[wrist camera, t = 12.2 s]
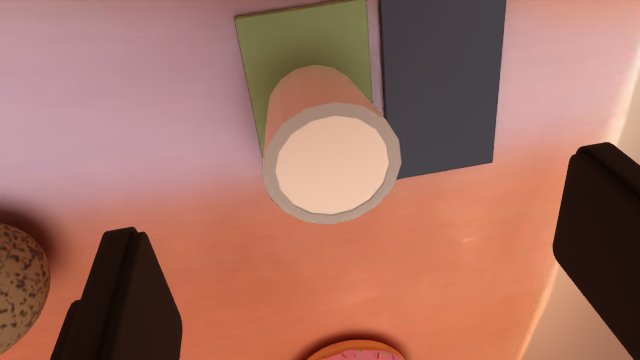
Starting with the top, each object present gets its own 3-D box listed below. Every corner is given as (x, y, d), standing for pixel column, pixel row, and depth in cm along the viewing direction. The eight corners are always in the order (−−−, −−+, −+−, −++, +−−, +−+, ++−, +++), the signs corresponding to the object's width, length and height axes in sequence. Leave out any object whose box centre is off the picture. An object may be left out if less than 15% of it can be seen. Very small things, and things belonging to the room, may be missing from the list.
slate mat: (378, -6, 27) (380, -4, 27) (503, -26, 28) (508, -24, 27) (387, 176, 34) (389, 181, 33) (488, 158, 34) (492, 162, 34)
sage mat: (234, 16, 27) (234, 19, 27) (364, -4, 27) (366, -2, 27) (270, 196, 34) (271, 201, 33) (375, 178, 34) (377, 182, 33)
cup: (280, 36, 27) (293, 82, 21) (389, 77, 30) (427, 129, 24) (241, 141, 30) (242, 207, 24) (342, 171, 33) (365, 238, 27)
